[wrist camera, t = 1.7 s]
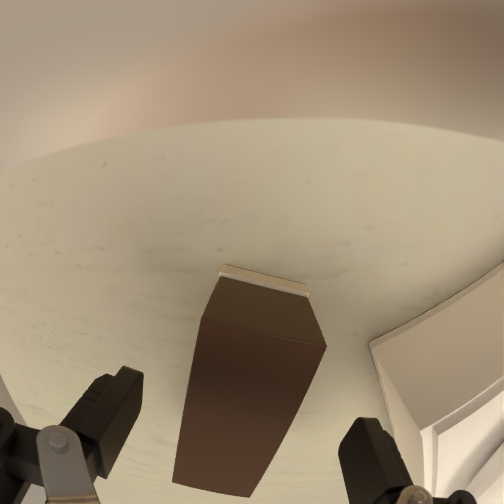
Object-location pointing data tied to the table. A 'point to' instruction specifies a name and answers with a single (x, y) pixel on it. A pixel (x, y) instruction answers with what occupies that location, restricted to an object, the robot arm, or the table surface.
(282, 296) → the brown block cream base
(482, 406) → the white lidded box
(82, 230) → the table surface
